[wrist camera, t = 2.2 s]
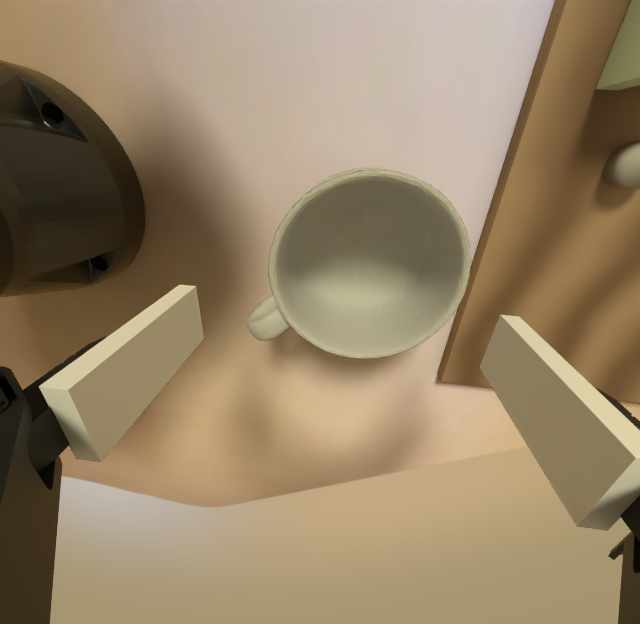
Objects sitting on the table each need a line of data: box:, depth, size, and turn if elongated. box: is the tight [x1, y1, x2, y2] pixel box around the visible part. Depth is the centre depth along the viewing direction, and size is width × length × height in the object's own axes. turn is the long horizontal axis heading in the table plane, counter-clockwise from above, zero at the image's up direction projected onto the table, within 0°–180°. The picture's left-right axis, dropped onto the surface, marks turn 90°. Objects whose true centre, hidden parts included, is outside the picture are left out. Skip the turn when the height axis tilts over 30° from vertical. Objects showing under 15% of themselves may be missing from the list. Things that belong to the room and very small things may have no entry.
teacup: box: [247, 168, 471, 359], centre depth 19 cm, size 14×11×8 cm
